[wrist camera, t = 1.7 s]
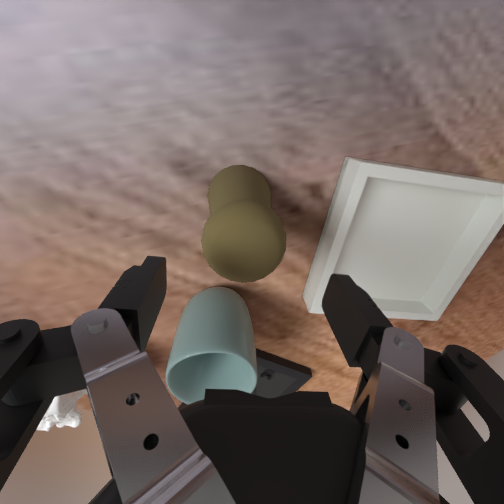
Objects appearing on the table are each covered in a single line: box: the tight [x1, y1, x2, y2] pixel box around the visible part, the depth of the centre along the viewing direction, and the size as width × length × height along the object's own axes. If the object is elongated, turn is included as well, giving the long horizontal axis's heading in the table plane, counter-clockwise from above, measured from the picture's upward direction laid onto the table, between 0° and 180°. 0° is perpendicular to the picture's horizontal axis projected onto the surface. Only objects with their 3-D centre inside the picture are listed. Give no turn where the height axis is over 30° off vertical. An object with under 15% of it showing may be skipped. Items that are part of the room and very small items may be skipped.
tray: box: [302, 157, 504, 321], centre depth 26 cm, size 16×16×3 cm
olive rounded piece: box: [201, 165, 286, 283], centre depth 18 cm, size 6×6×11 cm
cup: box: [166, 287, 258, 404], centre depth 25 cm, size 8×8×10 cm
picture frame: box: [178, 349, 312, 410], centre depth 38 cm, size 13×2×18 cm
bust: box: [36, 389, 88, 431], centre depth 27 cm, size 12×8×11 cm
